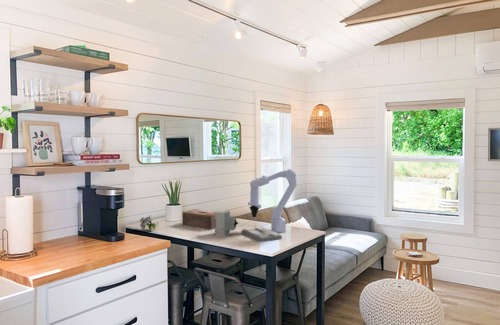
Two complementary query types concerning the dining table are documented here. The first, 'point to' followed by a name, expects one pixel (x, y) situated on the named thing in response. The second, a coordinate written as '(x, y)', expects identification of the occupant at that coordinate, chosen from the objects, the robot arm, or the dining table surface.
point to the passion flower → (147, 223)
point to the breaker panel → (260, 234)
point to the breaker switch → (267, 232)
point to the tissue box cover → (199, 219)
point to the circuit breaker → (224, 222)
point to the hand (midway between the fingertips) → (254, 216)
